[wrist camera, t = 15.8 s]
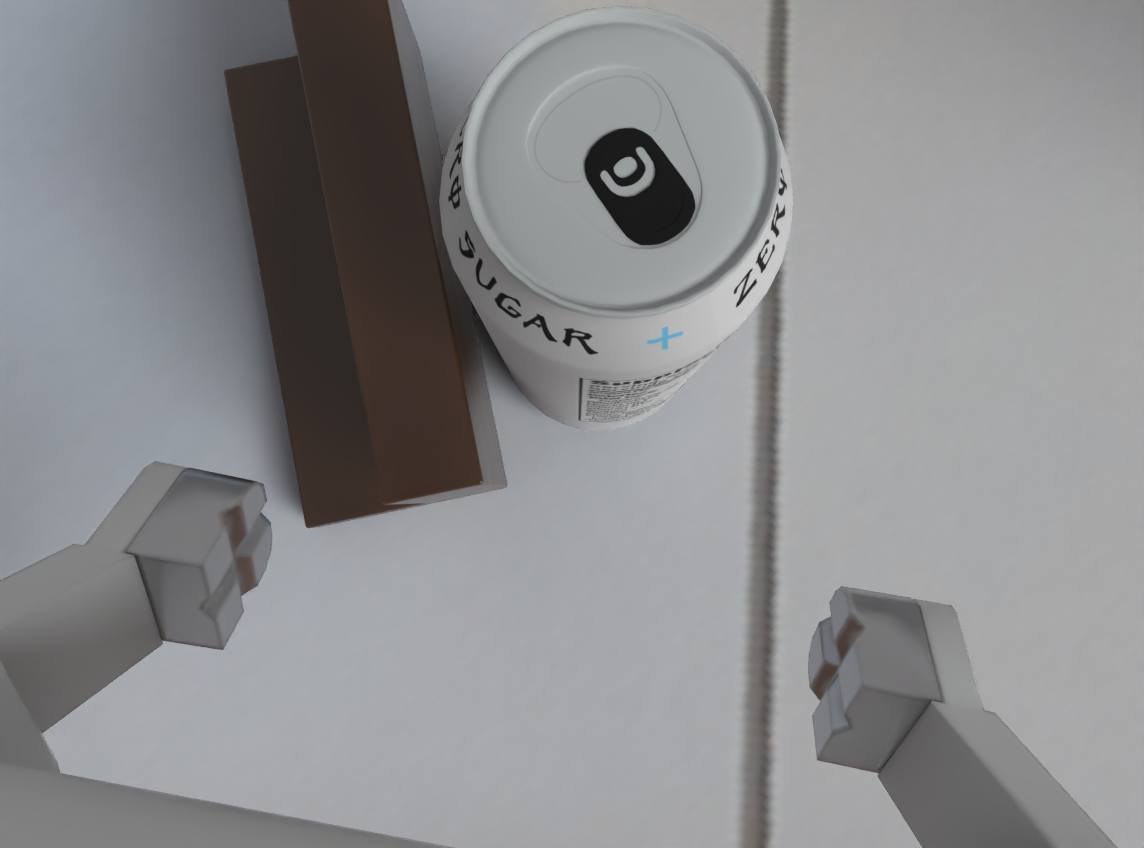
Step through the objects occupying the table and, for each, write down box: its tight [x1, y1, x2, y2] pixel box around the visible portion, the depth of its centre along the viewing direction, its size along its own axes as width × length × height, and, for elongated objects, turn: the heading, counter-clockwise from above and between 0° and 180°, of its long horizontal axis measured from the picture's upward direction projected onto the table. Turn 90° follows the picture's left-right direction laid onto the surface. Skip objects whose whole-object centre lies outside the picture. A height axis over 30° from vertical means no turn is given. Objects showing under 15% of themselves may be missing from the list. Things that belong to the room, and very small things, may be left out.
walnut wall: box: [224, 0, 507, 528], centre depth 24 cm, size 6×15×7 cm, turn 12°
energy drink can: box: [439, 6, 793, 430], centre depth 20 cm, size 6×6×15 cm
